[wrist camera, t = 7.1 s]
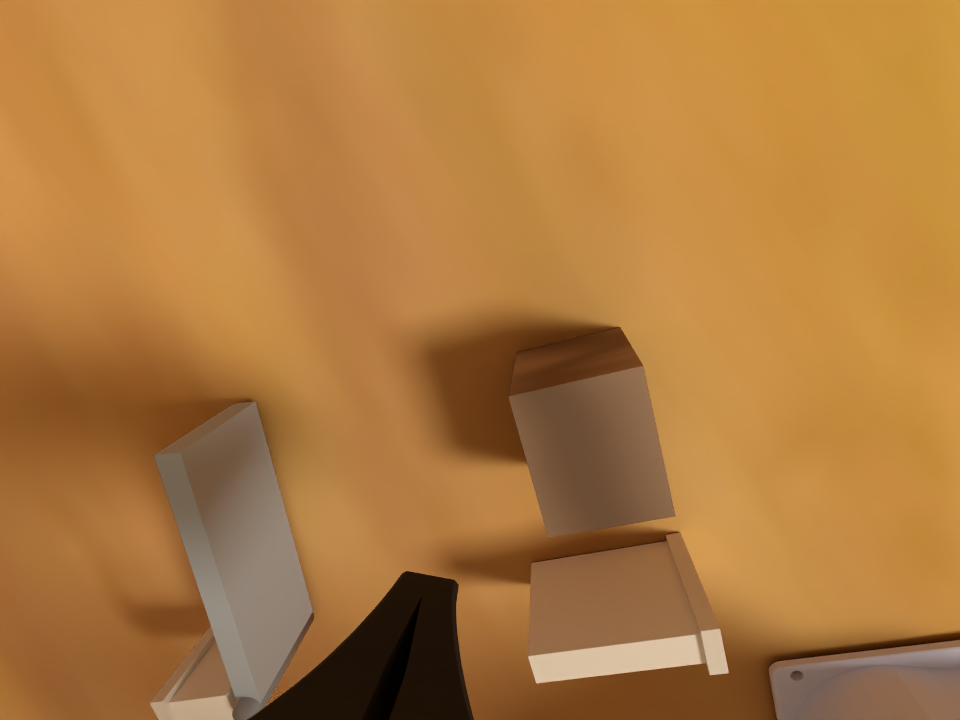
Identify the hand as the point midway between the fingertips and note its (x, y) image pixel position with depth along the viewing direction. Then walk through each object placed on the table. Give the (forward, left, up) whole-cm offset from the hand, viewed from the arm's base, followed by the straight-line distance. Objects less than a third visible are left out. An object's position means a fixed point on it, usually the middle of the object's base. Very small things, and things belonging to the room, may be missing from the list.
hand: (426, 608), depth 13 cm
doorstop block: (-5, -1, -9) cm, 11 cm away
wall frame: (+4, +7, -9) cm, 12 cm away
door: (+10, +1, -9) cm, 14 cm away
